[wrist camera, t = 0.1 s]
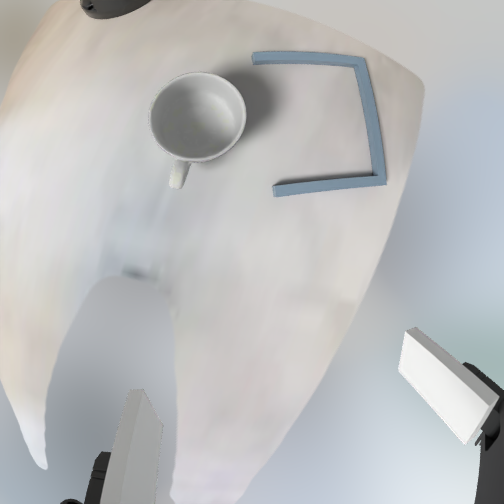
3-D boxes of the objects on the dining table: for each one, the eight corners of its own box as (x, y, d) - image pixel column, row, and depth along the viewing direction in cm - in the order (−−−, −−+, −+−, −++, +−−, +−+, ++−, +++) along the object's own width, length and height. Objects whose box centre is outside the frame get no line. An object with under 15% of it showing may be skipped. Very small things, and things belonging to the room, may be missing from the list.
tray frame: (251, 56, 31) (253, 52, 30) (359, 61, 33) (363, 57, 32) (273, 196, 37) (276, 197, 36) (381, 184, 39) (386, 184, 37)
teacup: (186, 81, 31) (179, 58, 24) (254, 113, 34) (264, 96, 26) (137, 167, 34) (118, 163, 26) (205, 200, 36) (203, 205, 28)
